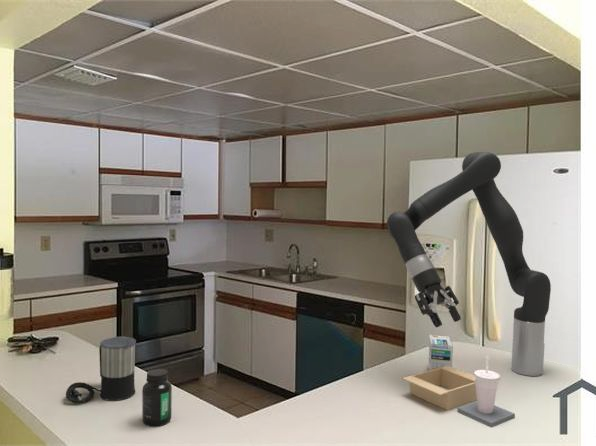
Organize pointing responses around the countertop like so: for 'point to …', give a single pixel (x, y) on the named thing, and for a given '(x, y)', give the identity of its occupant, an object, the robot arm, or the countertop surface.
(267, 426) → the countertop surface
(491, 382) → the smoothie
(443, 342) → the light bulb box
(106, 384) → the milk frother
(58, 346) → the countertop surface
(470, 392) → the carton
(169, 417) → the supplement bottle
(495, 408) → the mat
